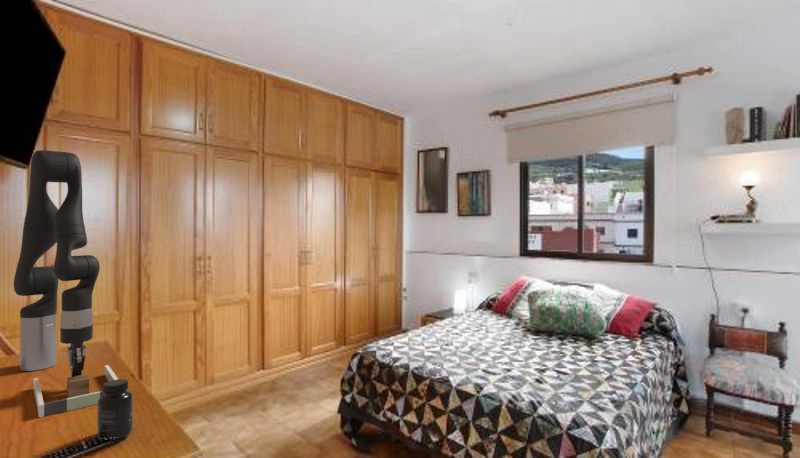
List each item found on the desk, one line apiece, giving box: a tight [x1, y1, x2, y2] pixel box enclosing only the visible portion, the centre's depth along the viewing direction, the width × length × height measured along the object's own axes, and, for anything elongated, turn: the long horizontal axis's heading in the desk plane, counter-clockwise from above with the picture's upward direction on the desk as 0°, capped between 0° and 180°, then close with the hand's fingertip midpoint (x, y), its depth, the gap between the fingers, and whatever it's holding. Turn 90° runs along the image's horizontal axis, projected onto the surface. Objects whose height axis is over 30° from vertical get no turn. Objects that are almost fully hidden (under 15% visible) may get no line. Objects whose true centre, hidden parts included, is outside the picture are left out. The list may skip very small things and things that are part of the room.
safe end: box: [66, 391, 100, 412], centre depth 111 cm, size 1×7×3 cm, turn 133°
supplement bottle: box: [96, 378, 134, 439], centre depth 97 cm, size 7×7×12 cm
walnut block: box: [66, 373, 90, 398], centre depth 119 cm, size 4×4×4 cm
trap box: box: [33, 364, 119, 418], centre depth 120 cm, size 24×18×3 cm
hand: (76, 383), depth 122 cm, fingers closed
